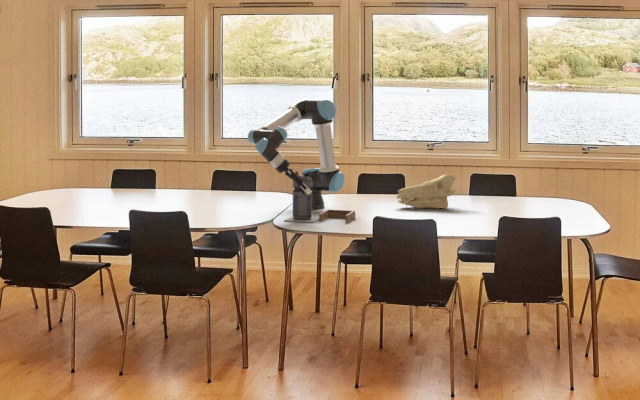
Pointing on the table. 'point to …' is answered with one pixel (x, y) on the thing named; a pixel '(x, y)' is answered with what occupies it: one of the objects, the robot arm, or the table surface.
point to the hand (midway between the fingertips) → (308, 191)
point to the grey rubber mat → (311, 220)
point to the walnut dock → (337, 215)
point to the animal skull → (428, 193)
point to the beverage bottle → (302, 197)
